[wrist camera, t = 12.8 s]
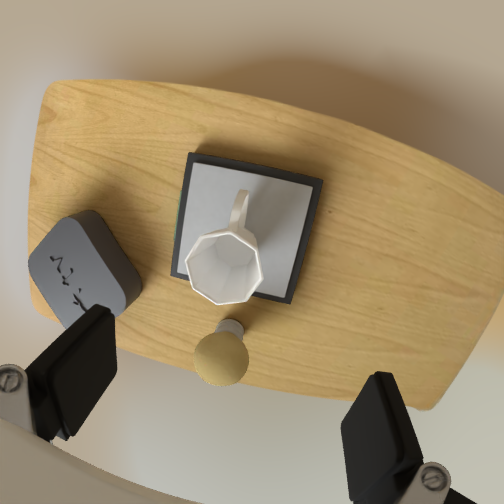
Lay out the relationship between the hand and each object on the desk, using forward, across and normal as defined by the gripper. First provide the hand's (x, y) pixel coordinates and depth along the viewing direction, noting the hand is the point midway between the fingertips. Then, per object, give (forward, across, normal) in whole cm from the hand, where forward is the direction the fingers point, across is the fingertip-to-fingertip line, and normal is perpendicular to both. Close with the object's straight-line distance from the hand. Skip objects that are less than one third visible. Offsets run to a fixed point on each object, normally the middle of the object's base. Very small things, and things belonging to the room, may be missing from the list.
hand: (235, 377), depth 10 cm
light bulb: (+26, +2, +16) cm, 31 cm away
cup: (+24, +3, +2) cm, 24 cm away
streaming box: (+27, +24, +13) cm, 38 cm away
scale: (+26, +3, +2) cm, 27 cm away
